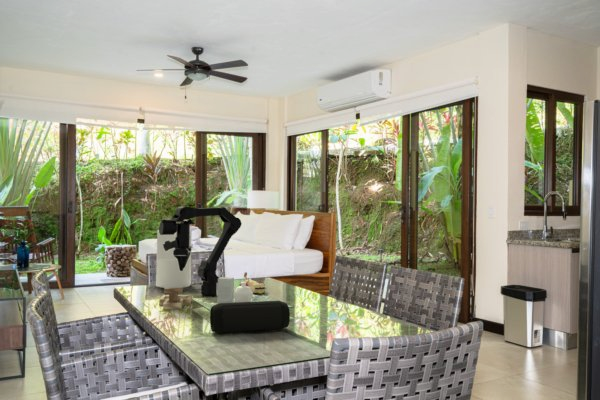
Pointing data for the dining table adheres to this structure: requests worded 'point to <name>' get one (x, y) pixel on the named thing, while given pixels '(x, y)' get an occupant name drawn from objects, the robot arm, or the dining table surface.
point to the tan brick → (173, 293)
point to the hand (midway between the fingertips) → (182, 269)
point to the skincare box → (225, 290)
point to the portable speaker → (249, 317)
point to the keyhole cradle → (182, 301)
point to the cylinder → (171, 265)
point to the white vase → (243, 293)
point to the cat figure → (254, 285)
